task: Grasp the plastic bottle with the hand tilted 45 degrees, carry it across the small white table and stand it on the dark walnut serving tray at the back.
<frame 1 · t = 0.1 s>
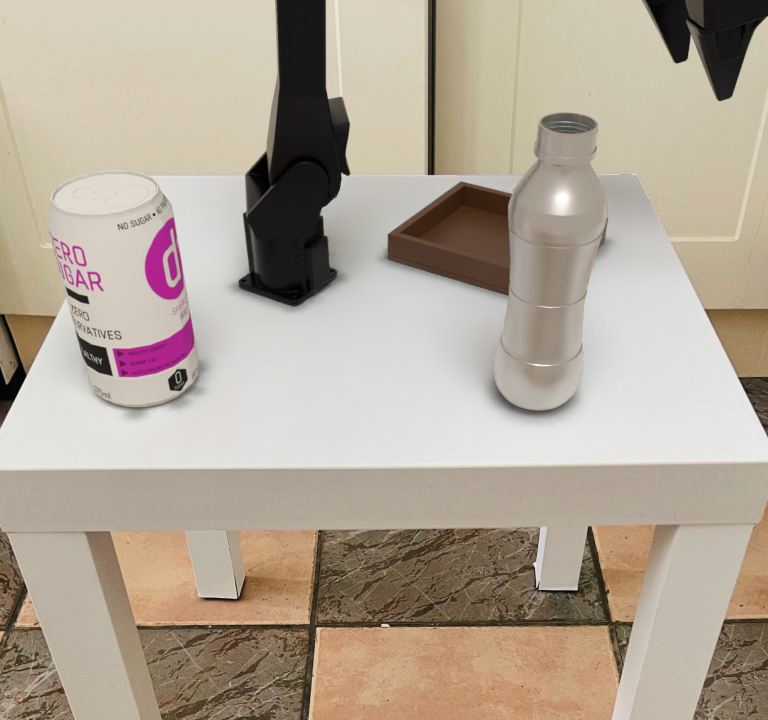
hand: (701, 79, 74), 15 cm above the table, tool pointing down, fingers open, 9 cm apart
tray: (497, 250, 86), on the table
white soda can: (146, 382, 71), on the table
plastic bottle: (534, 397, 69), on the table
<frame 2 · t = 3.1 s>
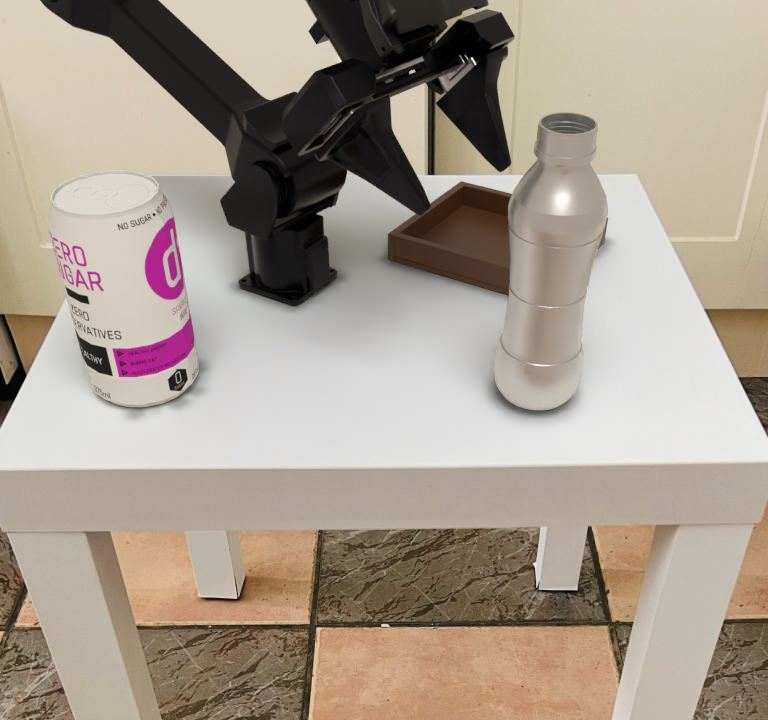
hand: (467, 189, 63), 14 cm above the table, tool tilted 45°, fingers open, 9 cm apart
nothing on the table moved.
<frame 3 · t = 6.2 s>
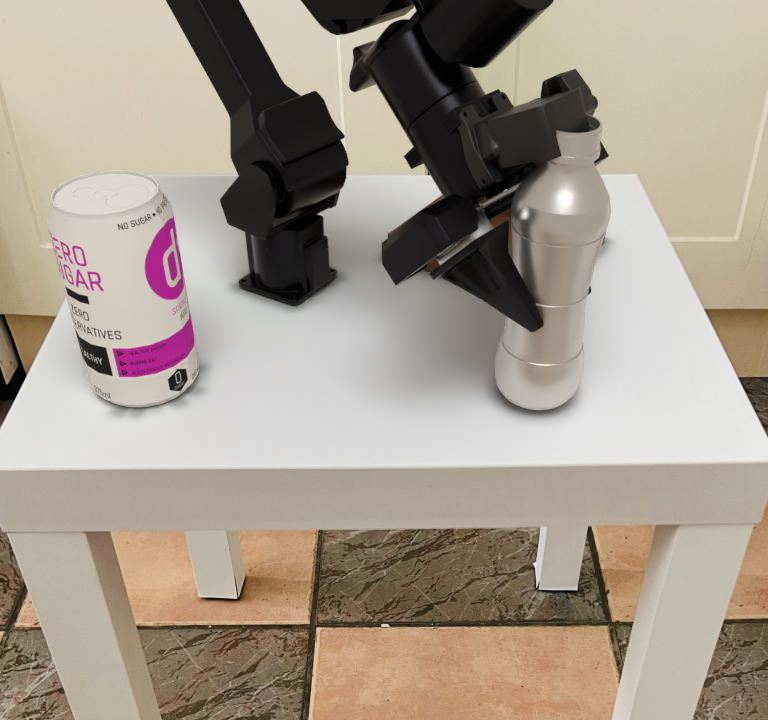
hand: (562, 312, 63), 8 cm above the table, tool tilted 45°, fingers closed on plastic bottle, 5 cm apart
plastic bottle: (534, 397, 69), on the table, touching gripper
everything else where it was.
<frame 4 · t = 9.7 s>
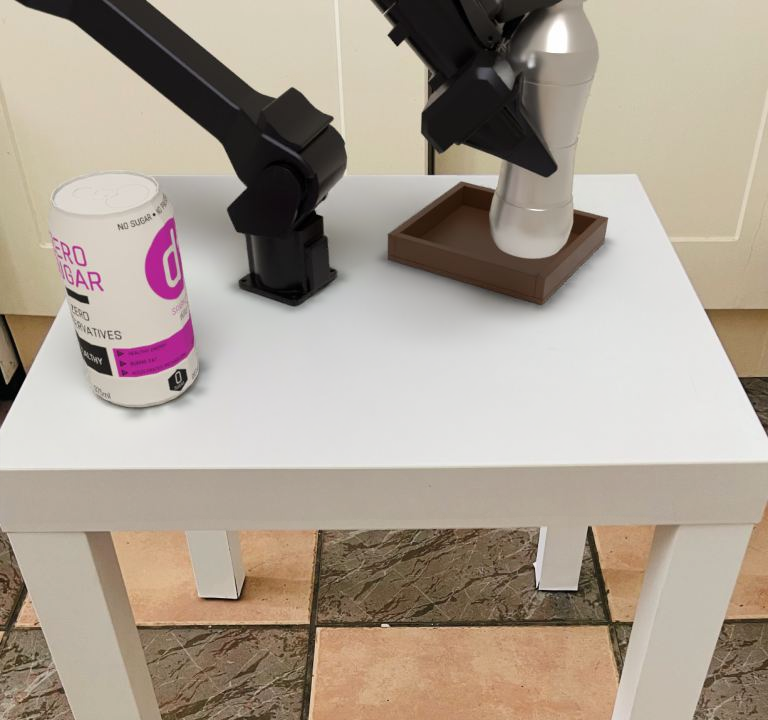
hand: (556, 157, 68), 13 cm above the table, tool tilted 45°, fingers closed on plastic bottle, 5 cm apart
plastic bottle: (526, 251, 74), point 6 cm above the table, touching gripper
everything else where it was.
when the fingers open (8 cm above the table, at t = 13.2 s): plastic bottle stays where it is, resting on tray.
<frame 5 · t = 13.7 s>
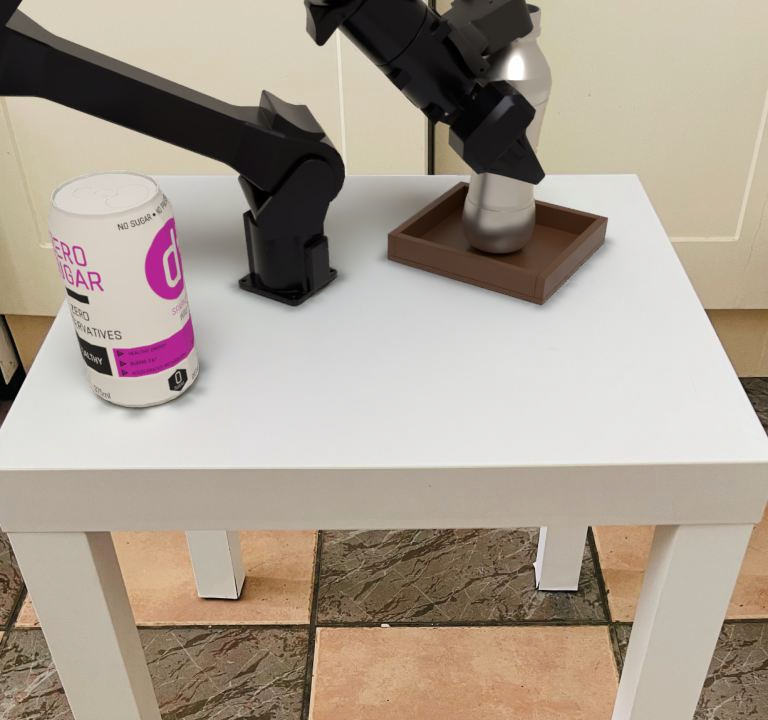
hand: (519, 159, 80), 8 cm above the table, tool tilted 45°, fingers open, 9 cm apart
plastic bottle: (496, 247, 85), resting on tray, touching gripper
everything else where it was.
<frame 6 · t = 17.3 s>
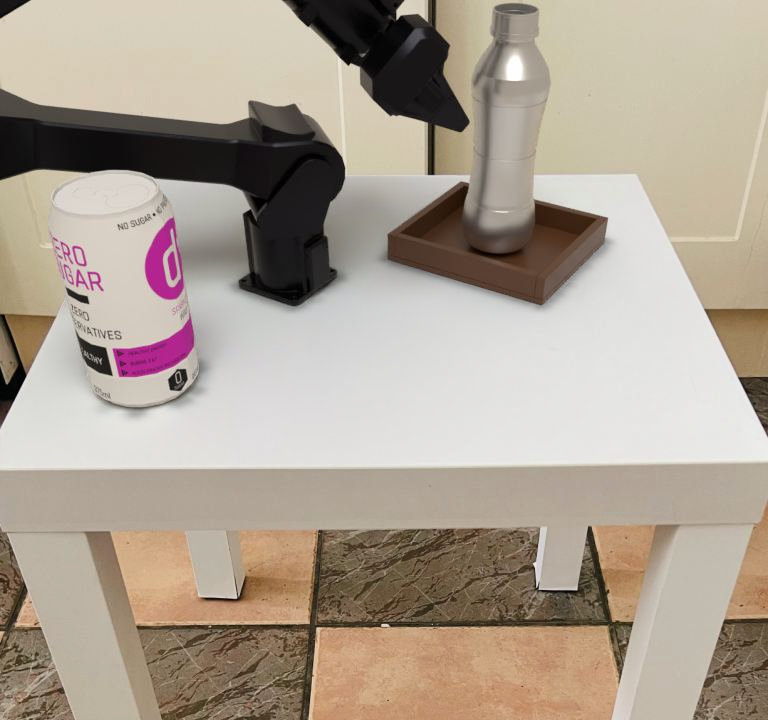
hand: (446, 107, 76), 14 cm above the table, tool tilted 45°, fingers open, 9 cm apart
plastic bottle: (496, 248, 86), resting on tray
everything else where it was.
at the end: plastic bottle inside the target area in the tray (0.1 cm from its centre), point 0.3 cm above the tray's base; the gripper is holding nothing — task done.
